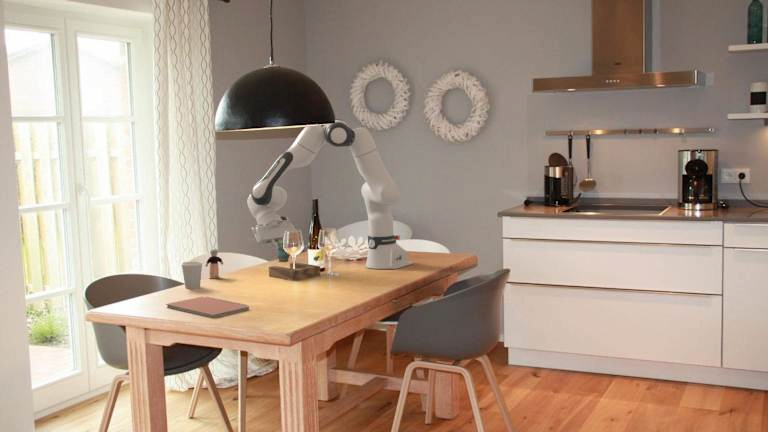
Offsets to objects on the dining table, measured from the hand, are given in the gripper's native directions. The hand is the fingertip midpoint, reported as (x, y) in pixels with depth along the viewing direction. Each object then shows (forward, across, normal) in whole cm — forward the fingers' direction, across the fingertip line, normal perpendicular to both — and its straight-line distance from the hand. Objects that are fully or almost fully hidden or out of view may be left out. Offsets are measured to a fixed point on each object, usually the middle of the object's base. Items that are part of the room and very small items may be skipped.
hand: (284, 248), depth 350 cm
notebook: (+30, -59, -13) cm, 68 cm away
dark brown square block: (+13, 0, +3) cm, 13 cm away
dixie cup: (+4, -43, +12) cm, 44 cm away
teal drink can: (+4, 0, +5) cm, 6 cm away
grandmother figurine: (-3, -25, +20) cm, 32 cm away
